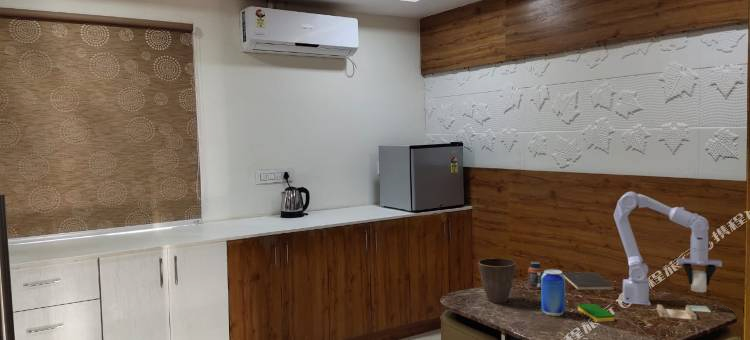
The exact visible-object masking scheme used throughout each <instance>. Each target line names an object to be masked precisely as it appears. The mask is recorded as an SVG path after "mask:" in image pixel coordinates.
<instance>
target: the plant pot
mask: <svg viewBox="0 0 750 340" xmlns="http://www.w3.org/2000/svg"><path fill="white" fill-rule="evenodd" d="M478 271H479V274H480V279H481V282H482V286H483V289H484V292H485V294H486V298H487V300H488V301H489V303H494V304H503V303H507V302H508V298H509V296H510V293H511V291H512V286H513V283H514V277H515V271H516V261H514V260H513V259H510V258H509V259H507V258H502V257H501V258H500V257H499V258H497V257H490V258H483V259H479V261H478Z"/></svg>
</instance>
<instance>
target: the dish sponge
mask: <svg viewBox="0 0 750 340" xmlns="http://www.w3.org/2000/svg"><path fill="white" fill-rule="evenodd" d="M577 311H579V312H580V311H581V312H580V313H582V312H583V313H584V315H585V314H586V315H587V316H586V315H585V316H586V317H588V316H589V317H590V319H591V318H592V319H593V322H596V323H600V322H614V321H615V315H614V314H613V313H611V312H610V311H608V310H606V309H604V308H603V307H600V306H599V305H598V304H596V303H589V304H585V303H584V304H578V305H577ZM583 313H582V314H583ZM589 317H588V318H589ZM592 319H591V320H592Z"/></svg>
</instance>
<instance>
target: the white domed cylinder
mask: <svg viewBox="0 0 750 340" xmlns="http://www.w3.org/2000/svg"><path fill="white" fill-rule="evenodd" d="M706 282H707V273H706V271H703V270H692V284H690V291H692V292H696V293H707V285H706Z"/></svg>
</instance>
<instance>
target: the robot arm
mask: <svg viewBox="0 0 750 340" xmlns="http://www.w3.org/2000/svg"><path fill="white" fill-rule="evenodd" d="M637 206H638V209H641V208H648V209H651V210H653V211H656V212H659V213H661V214H664V215H666V216H668V218H669V221H671V222H673V223H676V224H678V225H681V226H683V227H685V228H687V229H688V228H690V230H691V235H690V243H689V244H690V247H689V248H690V250H689V252H690V253H689V254H690V255H689V258H676V264H677V265H678V266H679V265H682V266H683V268H684V271H685V273H686V276H687V281H688V284H689V285H691V284H692V271H693V267H692V266H704V267H705V269H704V270H705V272H706V273H707V282H706V286H710V282H711V279H712V276H713V275H714V273H715V272H716V269H717V267H721V268H722V267H723V262H722V261H721V260H717V259H709V229H710V225H709V221H708V219H707V218H706V217H703V215H699V214H698V213H696V212H695V213H692V212H690V211H687V210H686V209H685V207H682V206H680V207H679V206H676V207H670V206H668V205H666V204H663V203H661V201H660V202H659V201H658V200H656V199H653V198H651V197H649V196H646V195H644V194H642V193H637V192H635V191H627V192H625V193H624V194H623V195H621V197H620V198H619V200H617V203H616V206H615V209H614V213H613V218H614V221H615V224H616V227H617V231H618V234H619V237H620V240H621V242H622V245H623V248H624V251H625V254H626V257H627V263H628V267H629V270H628V274H629V275H628V278H626V279H624V278H623V279H622V296H621V298H622V299H623V302H624V303H625V304H635V305H647V306H649V305H652V303H651V301H650V300H649V297H650V296H649V294H650V292H649V291H650V290H649V289H650V286H649V285H650V279H649V278H648V277H647V276H648V273H649V266H648V265H647V263H645V262H644V260H643V256H642V255H641V254H640V250H639V247H638V244H637V241H636V238H635V236H634V233H633V230H632V226H631V224H630V220H629V218H628V216H629V215H630V214H631V212H632V211H633V210H634V209H635V208H637Z"/></svg>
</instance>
